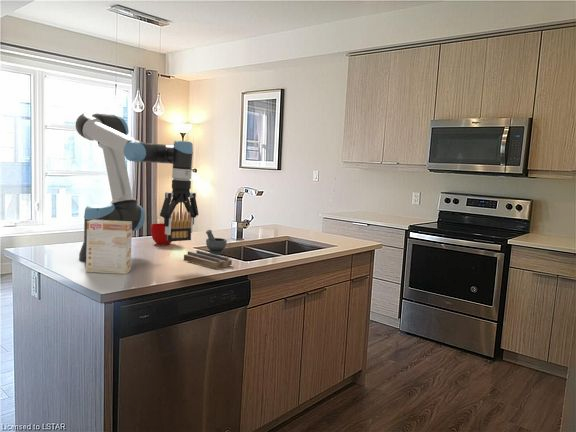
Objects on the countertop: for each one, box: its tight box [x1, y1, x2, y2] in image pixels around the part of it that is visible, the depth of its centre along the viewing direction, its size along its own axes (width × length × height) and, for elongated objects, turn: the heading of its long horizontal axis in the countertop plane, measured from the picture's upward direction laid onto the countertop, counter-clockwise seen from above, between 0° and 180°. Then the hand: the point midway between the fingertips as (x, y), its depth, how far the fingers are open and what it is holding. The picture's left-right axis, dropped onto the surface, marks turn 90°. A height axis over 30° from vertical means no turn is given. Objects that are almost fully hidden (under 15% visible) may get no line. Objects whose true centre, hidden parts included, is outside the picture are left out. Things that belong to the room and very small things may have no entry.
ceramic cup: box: [150, 222, 173, 246], centre depth 240 cm, size 13×17×10 cm
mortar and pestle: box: [205, 229, 228, 256], centre depth 225 cm, size 11×9×12 cm
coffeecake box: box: [85, 219, 133, 275], centre depth 177 cm, size 15×7×20 cm, turn 92°
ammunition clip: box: [166, 210, 192, 242], centre depth 190 cm, size 11×2×12 cm, turn 133°
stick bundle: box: [183, 249, 233, 270], centre depth 204 cm, size 10×20×4 cm, turn 51°
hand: (178, 233), depth 190 cm, fingers closed on ammunition clip, 10 cm apart
